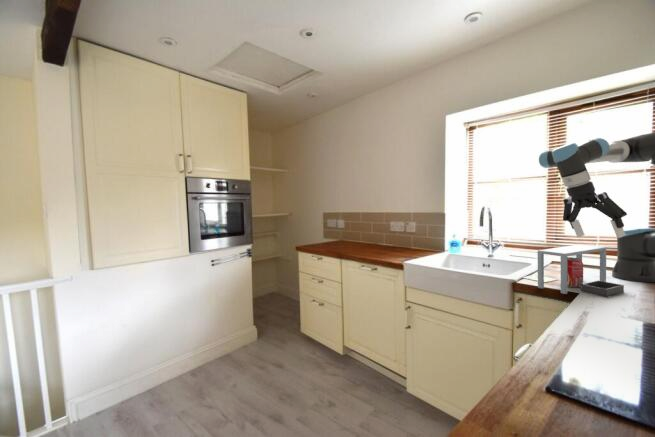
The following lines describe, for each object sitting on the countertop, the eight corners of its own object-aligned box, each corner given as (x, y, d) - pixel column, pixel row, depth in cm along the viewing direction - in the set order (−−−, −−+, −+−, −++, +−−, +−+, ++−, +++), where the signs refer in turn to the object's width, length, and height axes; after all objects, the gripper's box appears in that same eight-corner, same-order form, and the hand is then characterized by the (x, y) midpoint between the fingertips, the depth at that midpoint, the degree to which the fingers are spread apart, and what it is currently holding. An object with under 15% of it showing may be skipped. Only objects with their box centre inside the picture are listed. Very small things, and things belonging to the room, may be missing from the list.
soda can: (562, 282, 124) (562, 256, 123) (584, 285, 118) (584, 258, 118) (560, 286, 119) (560, 258, 118) (582, 289, 114) (582, 260, 113)
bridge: (578, 278, 129) (578, 244, 128) (606, 284, 119) (606, 247, 119) (537, 287, 118) (537, 250, 117) (565, 294, 109) (564, 253, 108)
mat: (535, 275, 137) (535, 274, 137) (558, 280, 128) (558, 279, 128) (521, 277, 133) (521, 277, 133) (544, 282, 124) (544, 282, 124)
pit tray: (597, 287, 115) (597, 280, 115) (623, 292, 108) (623, 285, 108) (581, 291, 111) (581, 284, 111) (607, 297, 103) (607, 289, 103)
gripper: (540, 192, 115) (559, 239, 114) (608, 181, 90) (633, 240, 90) (554, 186, 116) (574, 232, 115) (625, 173, 91) (650, 232, 91)
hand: (600, 236), depth 103 cm, fingers open, 13 cm apart
